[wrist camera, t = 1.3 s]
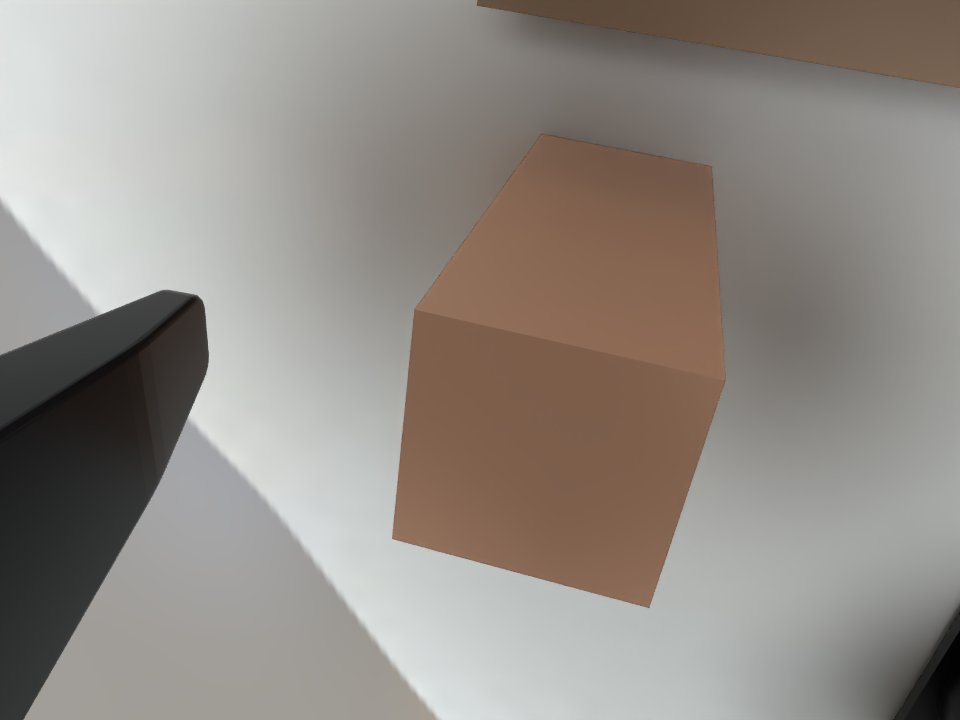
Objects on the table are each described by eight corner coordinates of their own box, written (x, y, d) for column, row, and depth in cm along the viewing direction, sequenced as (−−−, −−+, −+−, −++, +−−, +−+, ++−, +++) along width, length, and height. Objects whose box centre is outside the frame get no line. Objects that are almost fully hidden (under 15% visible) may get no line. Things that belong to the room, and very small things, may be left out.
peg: (668, 319, 20) (649, 607, 12) (516, 286, 21) (392, 538, 12) (711, 166, 18) (725, 379, 10) (541, 134, 19) (414, 309, 10)
